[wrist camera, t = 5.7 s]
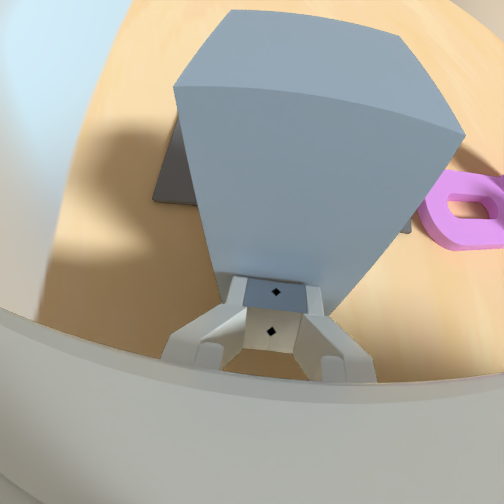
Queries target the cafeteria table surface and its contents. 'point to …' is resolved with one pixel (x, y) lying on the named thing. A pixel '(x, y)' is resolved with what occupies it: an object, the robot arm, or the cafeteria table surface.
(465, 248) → the bracket
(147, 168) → the cafeteria table surface
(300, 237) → the slate block
